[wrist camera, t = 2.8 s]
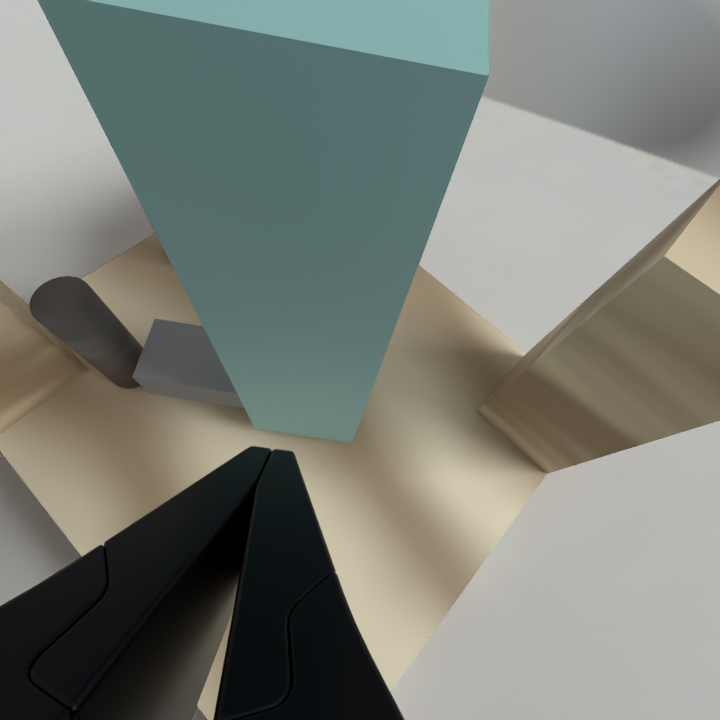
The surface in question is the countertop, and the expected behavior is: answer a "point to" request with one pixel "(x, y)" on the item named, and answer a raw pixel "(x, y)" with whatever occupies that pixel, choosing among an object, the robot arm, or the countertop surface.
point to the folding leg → (282, 179)
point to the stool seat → (367, 418)
